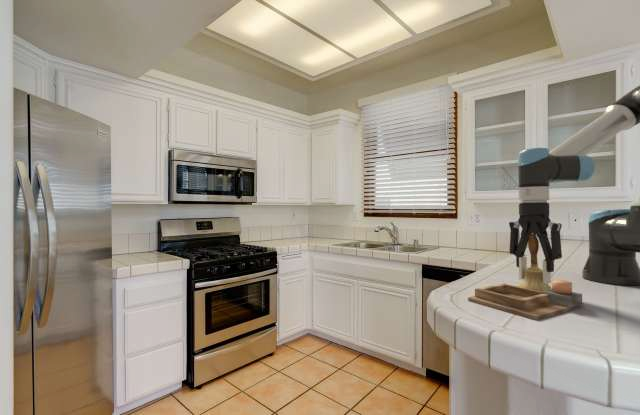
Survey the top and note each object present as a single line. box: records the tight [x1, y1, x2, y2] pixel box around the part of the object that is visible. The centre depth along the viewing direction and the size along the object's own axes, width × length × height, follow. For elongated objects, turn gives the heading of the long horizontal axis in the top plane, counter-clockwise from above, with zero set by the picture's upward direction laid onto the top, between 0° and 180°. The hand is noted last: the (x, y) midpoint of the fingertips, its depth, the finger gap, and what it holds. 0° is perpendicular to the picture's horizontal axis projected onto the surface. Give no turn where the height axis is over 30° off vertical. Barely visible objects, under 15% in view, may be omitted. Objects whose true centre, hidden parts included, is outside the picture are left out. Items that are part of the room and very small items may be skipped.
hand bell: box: [517, 233, 552, 292], centre depth 97 cm, size 8×8×16 cm
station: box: [467, 283, 584, 321], centre depth 83 cm, size 20×17×3 cm
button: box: [551, 279, 573, 294], centre depth 82 cm, size 4×4×2 cm
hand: (534, 280), depth 97 cm, fingers closed on hand bell, 6 cm apart
